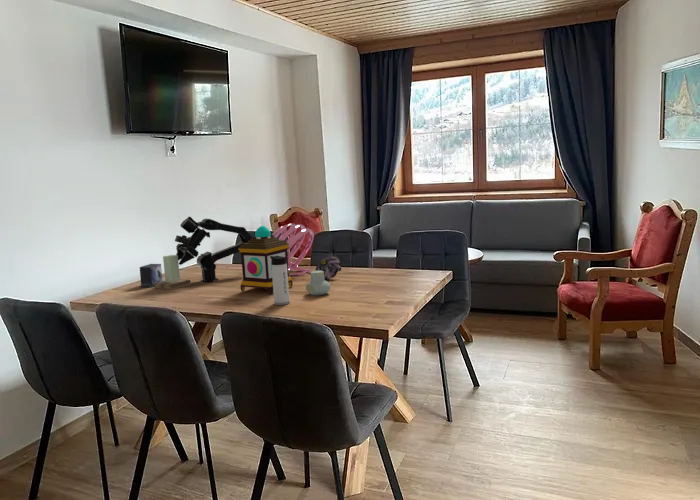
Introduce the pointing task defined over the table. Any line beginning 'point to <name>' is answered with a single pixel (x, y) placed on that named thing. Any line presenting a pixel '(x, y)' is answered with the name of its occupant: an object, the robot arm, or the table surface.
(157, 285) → the block
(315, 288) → the air freshener
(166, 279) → the sage block
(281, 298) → the travel mug
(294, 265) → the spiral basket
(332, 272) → the decorative flower
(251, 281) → the decorative lantern
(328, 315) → the table surface
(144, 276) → the small box
